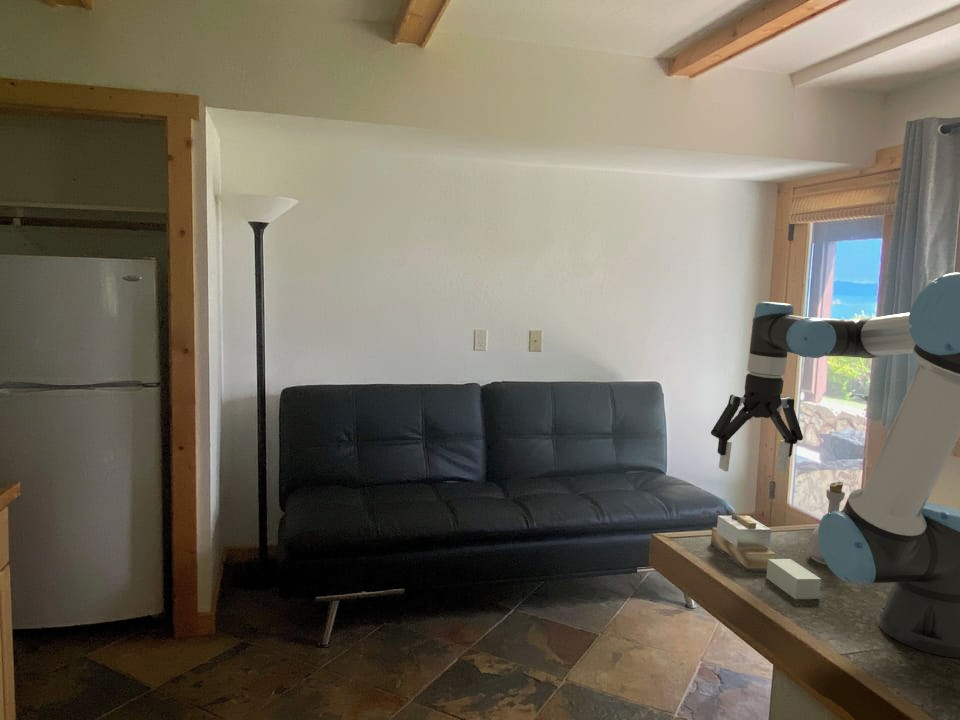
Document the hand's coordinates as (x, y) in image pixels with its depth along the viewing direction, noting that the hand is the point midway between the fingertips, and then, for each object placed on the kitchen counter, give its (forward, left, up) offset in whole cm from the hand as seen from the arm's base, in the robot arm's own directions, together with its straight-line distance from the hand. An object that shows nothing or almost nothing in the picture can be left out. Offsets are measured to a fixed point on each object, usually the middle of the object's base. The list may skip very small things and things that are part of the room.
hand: (752, 470), depth 151 cm
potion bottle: (-1, -20, -20) cm, 28 cm away
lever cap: (+1, 0, -16) cm, 16 cm away
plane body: (+1, 0, -20) cm, 20 cm away
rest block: (-15, -2, -20) cm, 25 cm away
